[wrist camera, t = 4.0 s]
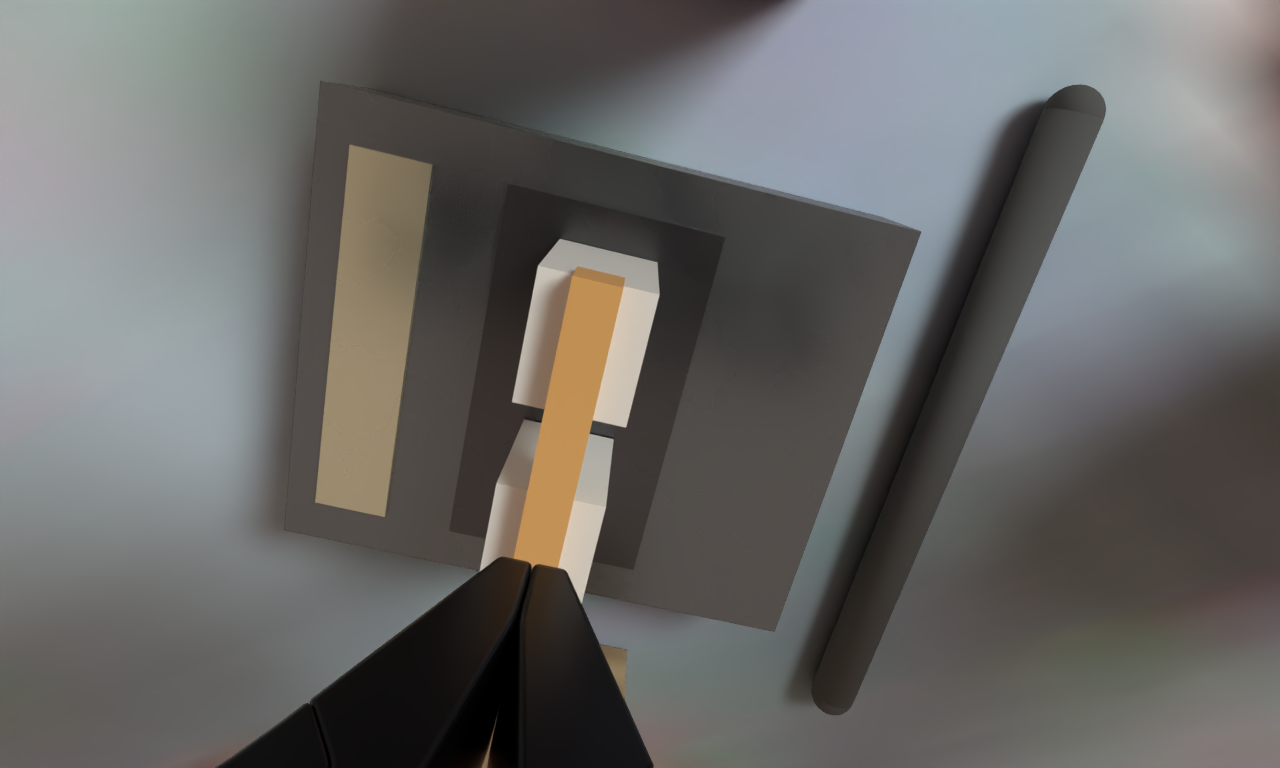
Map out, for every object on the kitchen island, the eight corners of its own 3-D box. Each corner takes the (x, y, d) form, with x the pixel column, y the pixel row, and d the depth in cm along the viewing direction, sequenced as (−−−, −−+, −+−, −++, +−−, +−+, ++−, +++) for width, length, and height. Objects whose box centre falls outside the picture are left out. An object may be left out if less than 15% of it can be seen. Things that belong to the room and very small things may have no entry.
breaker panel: (882, 217, 17) (923, 232, 14) (759, 572, 20) (775, 636, 17) (369, 88, 16) (316, 80, 13) (329, 480, 19) (280, 533, 17)
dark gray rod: (1094, 94, 16) (1128, 91, 15) (840, 696, 21) (851, 728, 20) (1043, 80, 16) (1074, 76, 14) (801, 688, 21) (810, 720, 20)
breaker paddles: (658, 257, 14) (662, 297, 11) (589, 535, 16) (574, 640, 13) (561, 233, 14) (533, 266, 11) (504, 517, 16) (466, 618, 13)
